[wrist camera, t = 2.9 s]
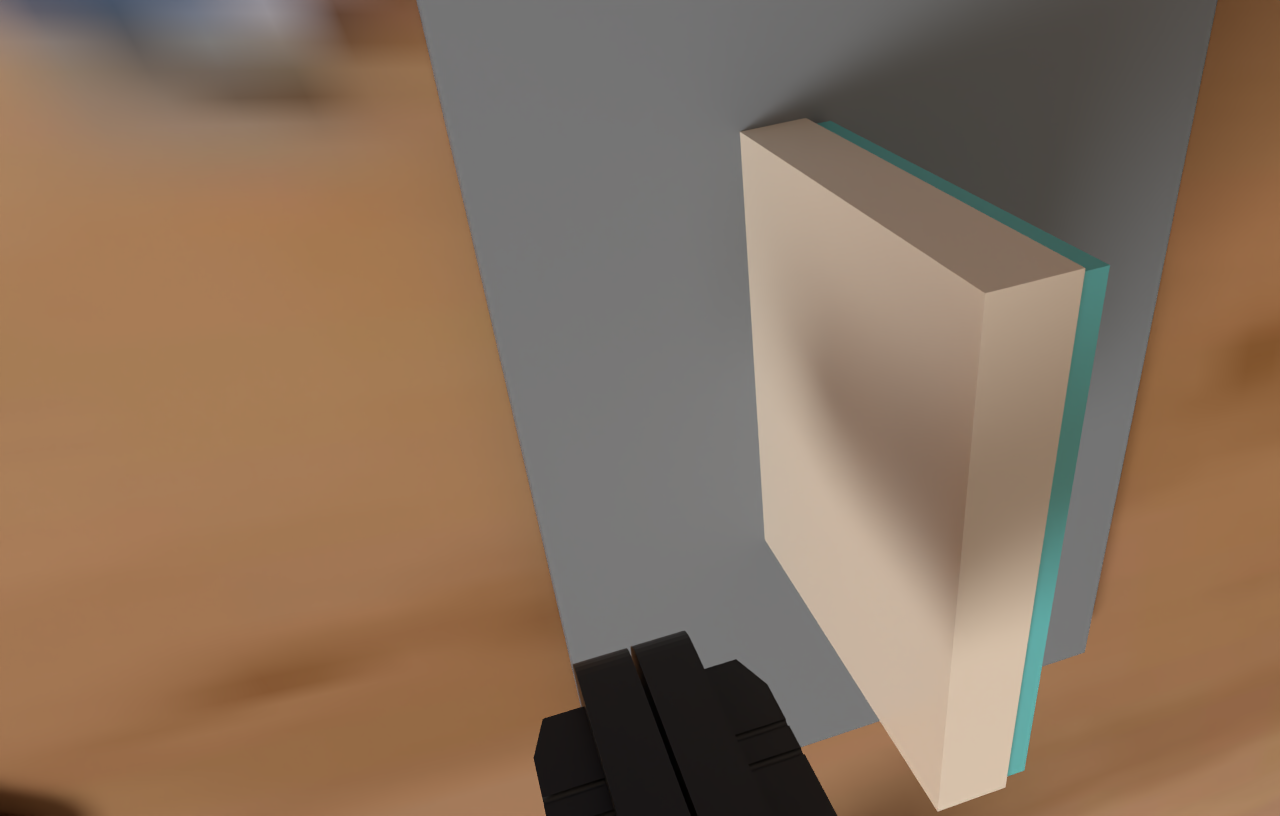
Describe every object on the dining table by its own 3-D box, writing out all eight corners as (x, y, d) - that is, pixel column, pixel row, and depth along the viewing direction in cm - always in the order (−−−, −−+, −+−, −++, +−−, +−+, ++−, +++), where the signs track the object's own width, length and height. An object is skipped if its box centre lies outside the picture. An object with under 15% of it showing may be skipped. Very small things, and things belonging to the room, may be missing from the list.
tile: (739, 131, 15) (984, 293, 10) (827, 113, 16) (1117, 259, 10) (764, 539, 20) (937, 811, 14) (831, 519, 20) (1027, 779, 15)
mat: (364, -226, 12) (365, -231, 12) (1244, -337, 15) (1288, -348, 14) (599, 786, 24) (607, 811, 23) (1065, 632, 26) (1084, 652, 26)
